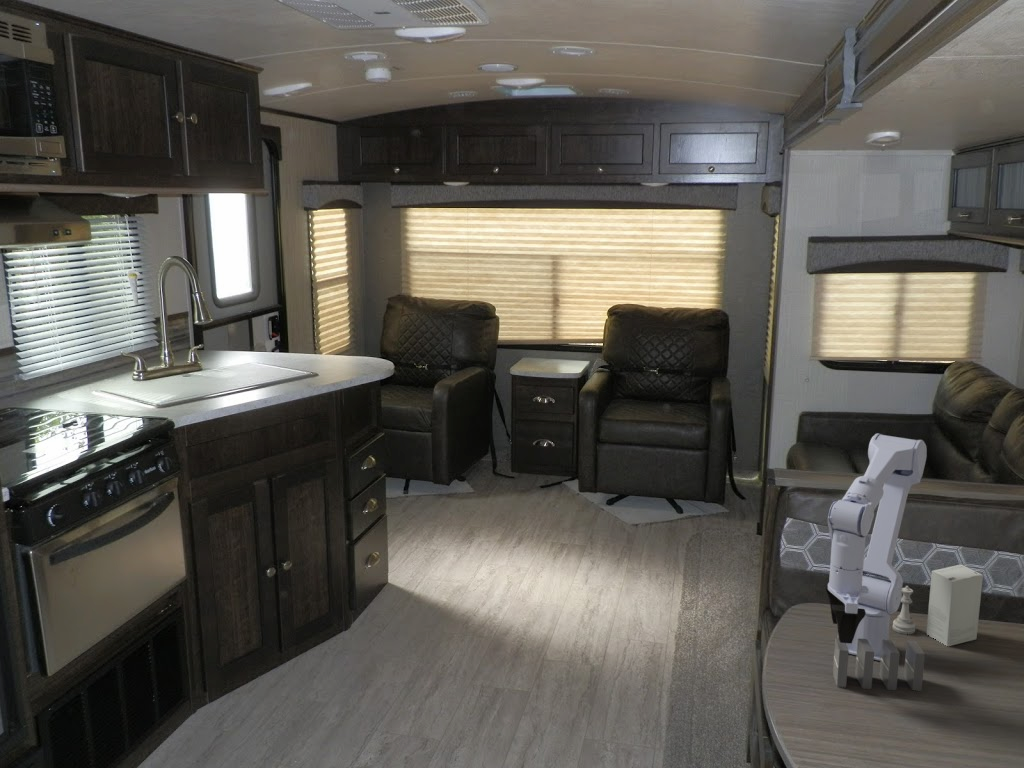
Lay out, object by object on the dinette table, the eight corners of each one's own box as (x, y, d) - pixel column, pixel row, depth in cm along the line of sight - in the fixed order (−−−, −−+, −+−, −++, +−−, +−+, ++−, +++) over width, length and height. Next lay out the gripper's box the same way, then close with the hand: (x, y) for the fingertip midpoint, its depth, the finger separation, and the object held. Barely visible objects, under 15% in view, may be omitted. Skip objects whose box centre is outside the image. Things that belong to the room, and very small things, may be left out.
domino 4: (912, 690, 164) (915, 653, 162) (903, 676, 169) (906, 640, 167) (921, 691, 164) (925, 653, 162) (912, 677, 168) (916, 640, 167)
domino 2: (862, 688, 165) (864, 651, 163) (854, 674, 169) (857, 638, 168) (871, 688, 164) (874, 651, 163) (864, 675, 169) (866, 638, 168)
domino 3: (887, 689, 164) (890, 652, 163) (878, 675, 169) (881, 639, 168) (896, 689, 164) (899, 652, 163) (888, 676, 169) (891, 639, 167)
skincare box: (954, 628, 188) (961, 562, 185) (978, 641, 182) (985, 573, 179) (924, 635, 185) (930, 568, 182) (947, 648, 179) (953, 579, 177)
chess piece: (913, 636, 184) (917, 591, 182) (890, 631, 187) (894, 587, 185) (916, 628, 188) (920, 584, 186) (894, 623, 190) (897, 580, 188)
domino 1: (836, 686, 165) (839, 649, 164) (832, 673, 170) (834, 637, 169) (846, 687, 165) (849, 650, 163) (841, 674, 170) (844, 638, 168)
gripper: (877, 581, 155) (872, 653, 158) (862, 551, 169) (857, 617, 172) (835, 579, 157) (831, 649, 159) (823, 548, 171) (819, 614, 173)
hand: (842, 632), depth 166 cm, fingers open, 7 cm apart
